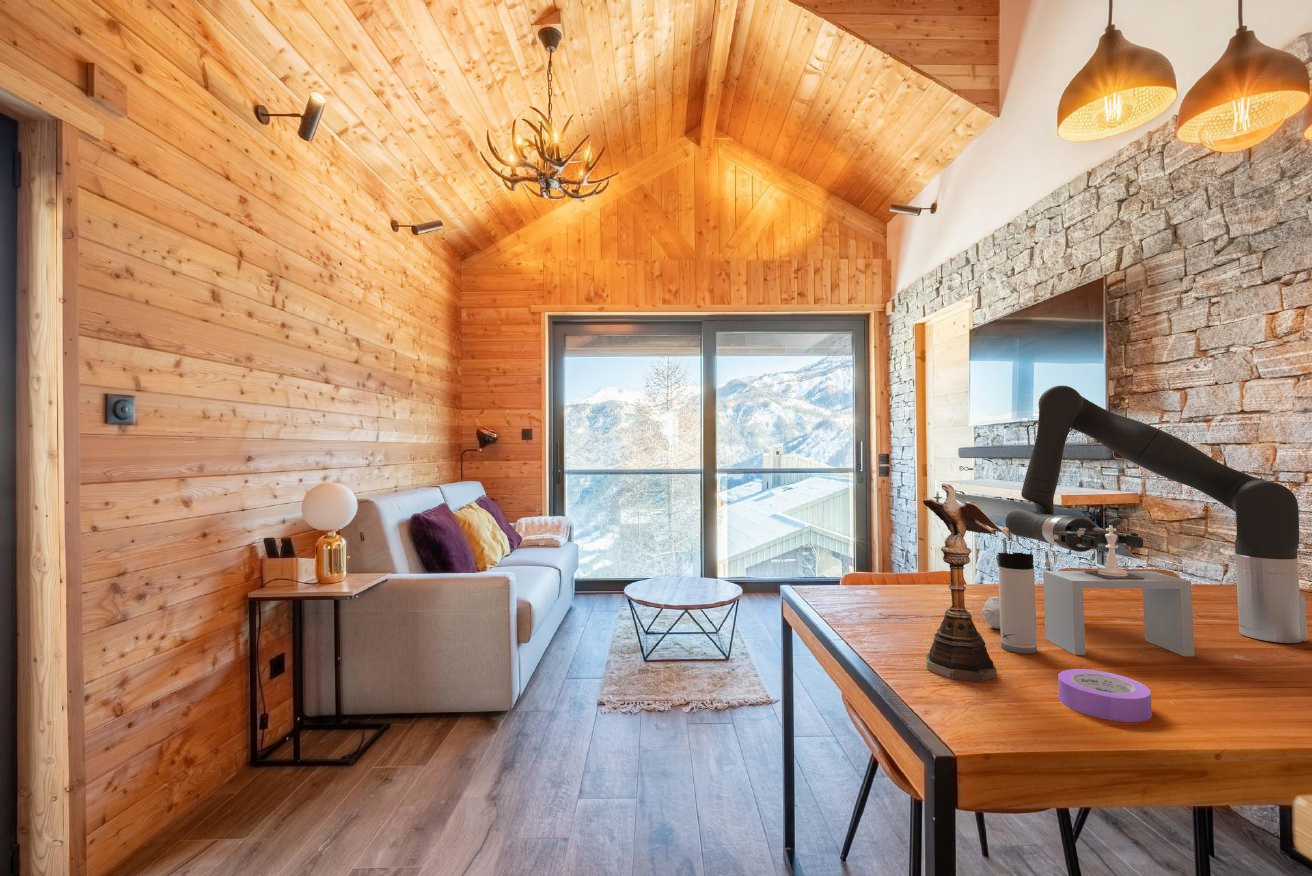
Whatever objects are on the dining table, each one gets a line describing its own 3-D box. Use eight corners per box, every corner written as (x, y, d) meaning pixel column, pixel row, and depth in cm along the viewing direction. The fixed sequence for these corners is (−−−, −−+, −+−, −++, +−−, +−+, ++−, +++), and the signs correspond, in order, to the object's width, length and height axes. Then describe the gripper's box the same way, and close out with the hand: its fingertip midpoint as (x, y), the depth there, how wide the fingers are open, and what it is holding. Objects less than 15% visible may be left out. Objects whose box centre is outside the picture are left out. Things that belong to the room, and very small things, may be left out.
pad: (1119, 572, 123) (1119, 571, 123) (1144, 579, 116) (1144, 577, 116) (1084, 572, 124) (1084, 571, 124) (1106, 579, 117) (1106, 577, 117)
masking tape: (1171, 725, 86) (1170, 699, 86) (1083, 721, 88) (1082, 695, 88) (1121, 693, 97) (1120, 670, 97) (1044, 690, 99) (1044, 667, 99)
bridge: (1155, 640, 124) (1152, 571, 124) (1194, 656, 114) (1191, 581, 114) (1045, 639, 125) (1043, 571, 126) (1074, 654, 115) (1072, 580, 116)
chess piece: (1133, 576, 117) (1131, 526, 117) (1105, 576, 118) (1103, 526, 118) (1119, 572, 122) (1117, 524, 122) (1092, 571, 123) (1091, 523, 123)
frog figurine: (1013, 626, 135) (1012, 595, 135) (1012, 634, 129) (1011, 602, 129) (983, 622, 138) (982, 592, 139) (981, 630, 132) (980, 599, 133)
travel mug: (1004, 652, 117) (1000, 552, 118) (998, 642, 123) (995, 547, 124) (1040, 656, 115) (1037, 553, 116) (1033, 646, 121) (1029, 548, 122)
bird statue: (961, 648, 120) (955, 478, 121) (1025, 668, 108) (1019, 479, 109) (904, 662, 113) (899, 480, 114) (967, 685, 101) (960, 482, 102)
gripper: (1035, 516, 135) (1080, 524, 119) (1101, 516, 134) (1155, 524, 118) (1037, 549, 135) (1082, 561, 119) (1102, 549, 134) (1156, 561, 118)
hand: (1118, 542), depth 118 cm, fingers open, 8 cm apart
